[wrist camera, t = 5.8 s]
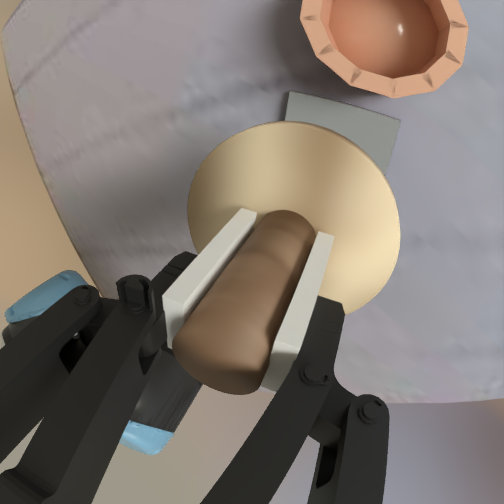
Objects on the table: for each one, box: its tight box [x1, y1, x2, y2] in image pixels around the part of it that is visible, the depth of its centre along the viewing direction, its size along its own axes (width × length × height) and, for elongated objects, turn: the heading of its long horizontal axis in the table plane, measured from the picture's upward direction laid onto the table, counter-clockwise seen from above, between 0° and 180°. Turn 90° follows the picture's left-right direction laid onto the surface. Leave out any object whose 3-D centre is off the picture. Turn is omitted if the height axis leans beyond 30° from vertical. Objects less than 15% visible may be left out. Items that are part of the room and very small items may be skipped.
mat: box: [285, 91, 400, 176], centre depth 27 cm, size 10×10×1 cm
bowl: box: [300, 0, 469, 98], centre depth 17 cm, size 12×12×6 cm
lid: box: [172, 121, 400, 395], centre depth 13 cm, size 11×11×9 cm
